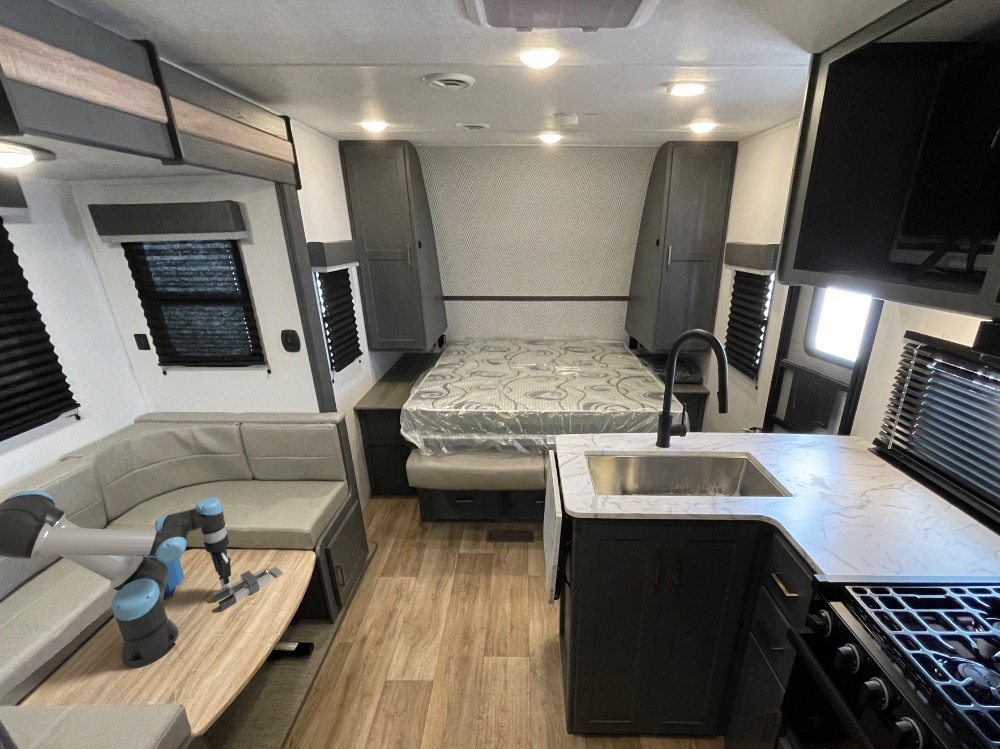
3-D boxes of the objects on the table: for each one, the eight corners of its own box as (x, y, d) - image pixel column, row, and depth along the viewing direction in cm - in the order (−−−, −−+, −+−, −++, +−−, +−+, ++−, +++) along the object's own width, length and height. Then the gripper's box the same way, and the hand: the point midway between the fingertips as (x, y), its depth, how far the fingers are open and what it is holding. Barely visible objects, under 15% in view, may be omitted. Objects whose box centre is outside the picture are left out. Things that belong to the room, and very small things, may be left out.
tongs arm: (216, 604, 159) (214, 597, 158) (214, 599, 162) (212, 591, 161) (270, 577, 172) (269, 570, 171) (267, 572, 174) (266, 565, 173)
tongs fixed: (222, 611, 156) (220, 605, 155) (215, 603, 160) (213, 597, 159) (283, 574, 174) (281, 568, 173) (275, 568, 177) (274, 562, 176)
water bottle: (169, 595, 165) (153, 541, 158) (150, 592, 167) (133, 538, 160) (190, 578, 174) (176, 525, 167) (172, 574, 176) (157, 523, 169)
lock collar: (251, 595, 163) (248, 583, 162) (243, 586, 167) (240, 575, 166) (259, 590, 166) (257, 578, 164) (251, 582, 170) (248, 570, 168)
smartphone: (152, 592, 167) (198, 575, 175) (152, 594, 167) (198, 577, 175) (150, 604, 161) (198, 586, 169) (151, 606, 161) (198, 588, 169)
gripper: (234, 538, 158) (245, 590, 164) (219, 526, 165) (229, 576, 172) (212, 550, 152) (223, 603, 159) (197, 536, 159) (209, 587, 166)
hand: (226, 589), depth 165 cm, fingers closed
